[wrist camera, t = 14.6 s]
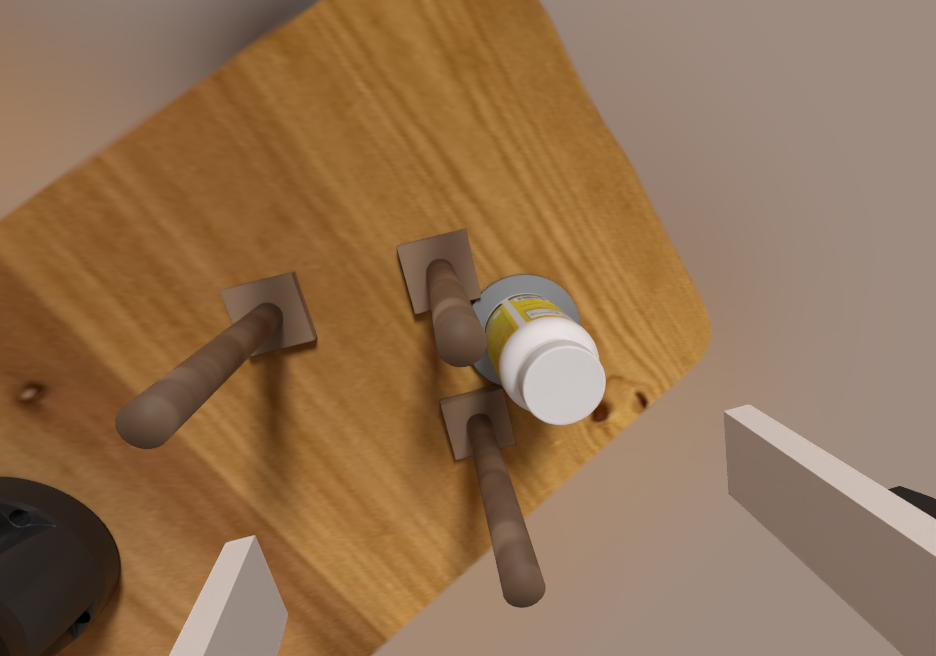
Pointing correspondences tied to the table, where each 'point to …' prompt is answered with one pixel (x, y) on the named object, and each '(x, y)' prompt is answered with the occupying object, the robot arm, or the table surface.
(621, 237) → the table surface
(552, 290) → the coaster
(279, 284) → the post
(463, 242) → the post corner
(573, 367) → the pill bottle
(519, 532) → the post
